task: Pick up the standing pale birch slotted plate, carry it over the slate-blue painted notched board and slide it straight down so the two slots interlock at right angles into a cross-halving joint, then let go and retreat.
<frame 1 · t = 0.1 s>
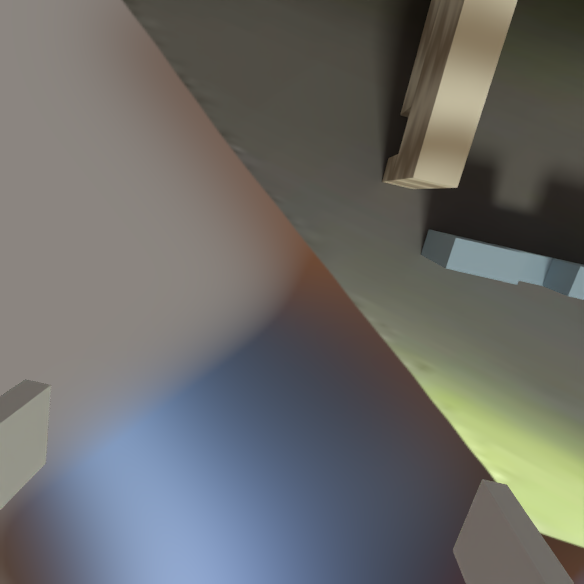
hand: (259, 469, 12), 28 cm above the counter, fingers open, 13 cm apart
birch plate: (425, 87, 34), on the counter
blue board: (505, 260, 37), on the counter
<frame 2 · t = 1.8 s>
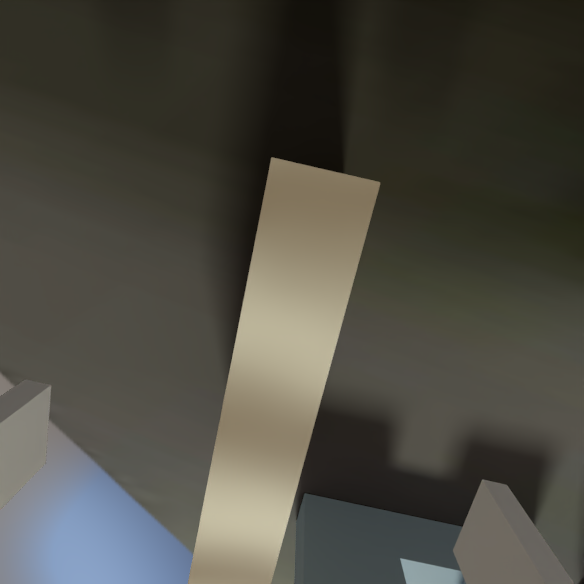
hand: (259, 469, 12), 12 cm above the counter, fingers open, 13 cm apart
birch plate: (283, 322, 23), on the counter
blue board: (412, 531, 27), on the counter
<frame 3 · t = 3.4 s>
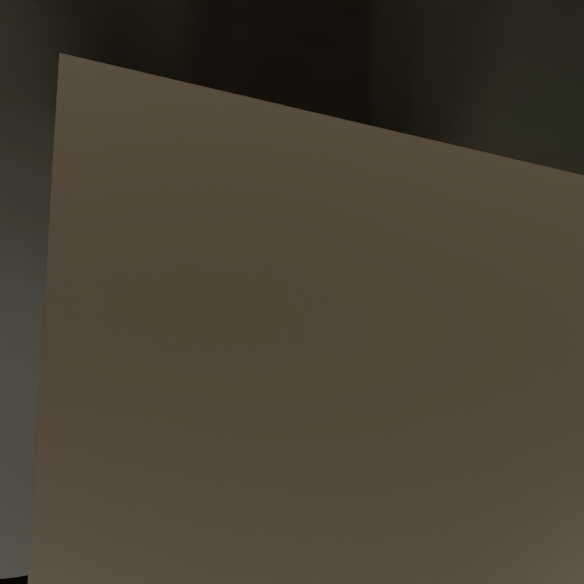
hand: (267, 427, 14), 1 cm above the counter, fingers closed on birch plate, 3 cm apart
birch plate: (268, 418, 14), on the counter, touching gripper
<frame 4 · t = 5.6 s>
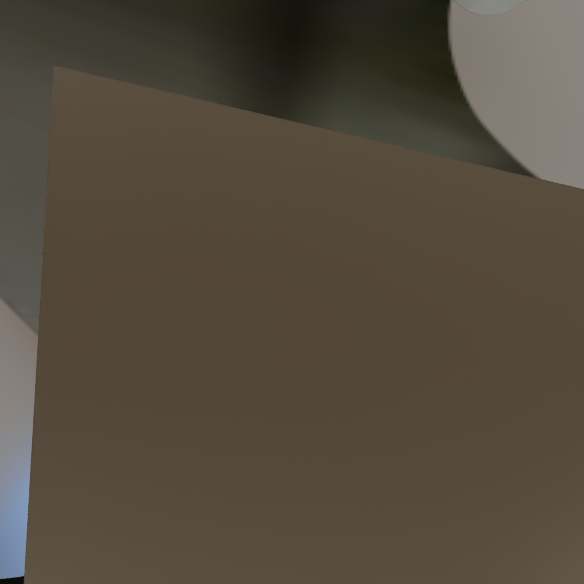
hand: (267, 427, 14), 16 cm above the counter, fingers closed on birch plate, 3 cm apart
birch plate: (268, 420, 14), point 15 cm above the counter, touching gripper
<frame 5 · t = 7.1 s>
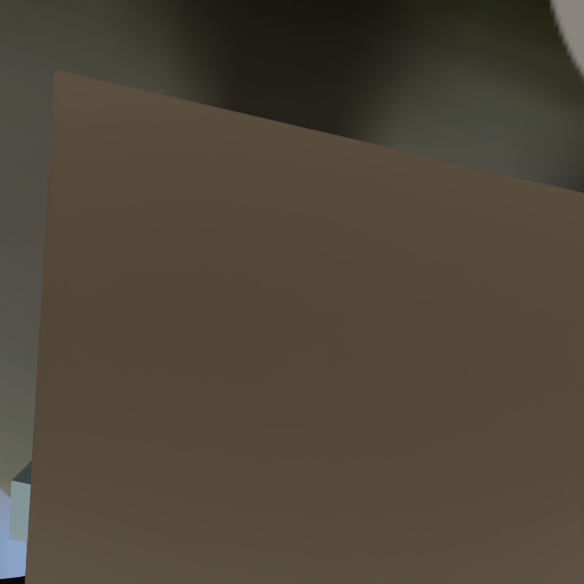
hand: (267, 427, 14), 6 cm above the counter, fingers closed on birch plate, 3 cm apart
birch plate: (268, 420, 14), point 5 cm above the counter, touching gripper
blue board: (260, 435, 20), on the counter
when the fingers open (2 cm above the counter, at t = 8.0 s): birch plate drops 1 cm, on the counter.
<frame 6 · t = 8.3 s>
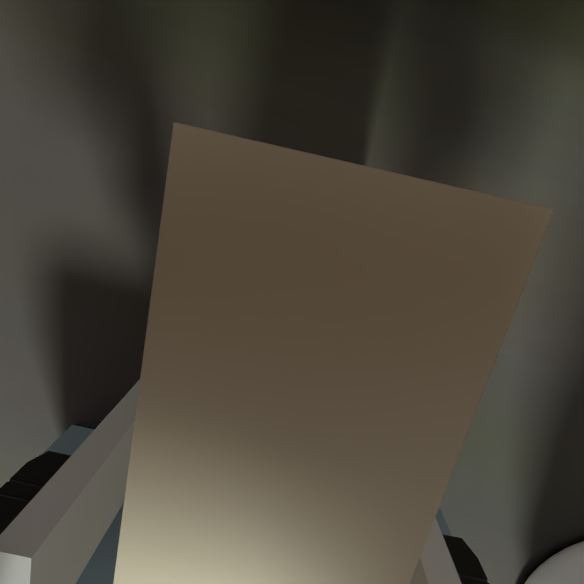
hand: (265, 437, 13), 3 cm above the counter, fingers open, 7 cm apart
birch plate: (271, 398, 16), on the counter
blue board: (251, 488, 17), on the counter
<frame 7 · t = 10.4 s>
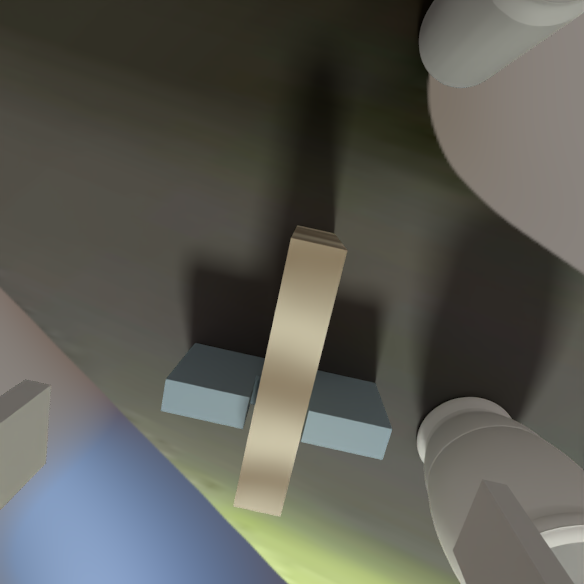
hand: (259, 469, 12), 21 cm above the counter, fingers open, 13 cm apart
jar: (463, 436, 35), on the counter
beverage can: (460, 42, 28), on the counter
birch plate: (293, 328, 33), on the counter
blue board: (282, 375, 34), on the counter
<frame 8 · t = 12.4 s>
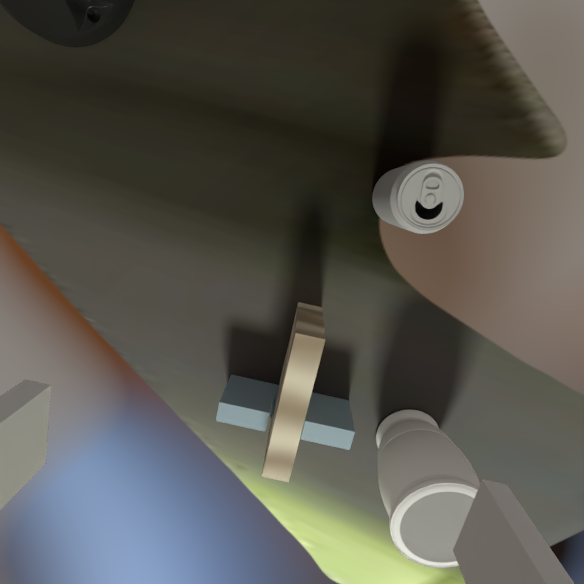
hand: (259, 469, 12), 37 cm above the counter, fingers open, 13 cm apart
jar: (406, 434, 53), on the counter
beverage can: (398, 196, 45), on the counter
birch plate: (295, 365, 51), on the counter
blue board: (288, 395, 52), on the counter
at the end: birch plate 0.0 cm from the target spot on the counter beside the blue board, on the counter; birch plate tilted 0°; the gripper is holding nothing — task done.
